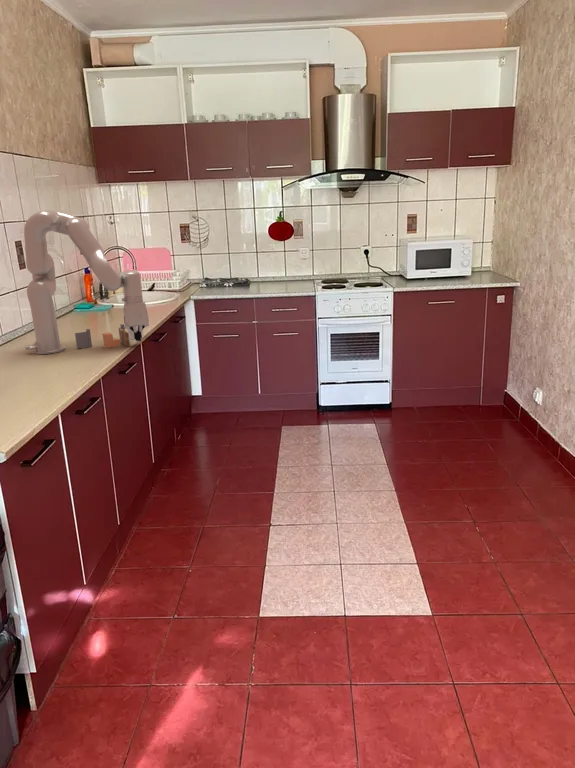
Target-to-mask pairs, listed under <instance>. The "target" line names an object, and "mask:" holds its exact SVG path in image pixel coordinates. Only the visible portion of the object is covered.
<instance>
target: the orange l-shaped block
mask: <svg viewBox="0 0 575 768" xmlns="http://www.w3.org/2000/svg"><path fill="white" fill-rule="evenodd" d="M113 335H114V334H113V333H111V332H104V333H102V339H103V340H102V341H103V346H105V347H104V348H106V347H107V348H106V349H109V348H108V347H112V348H115V347H114V346H118V347H121V342H120V338H114V337H113Z"/></svg>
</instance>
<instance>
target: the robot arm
mask: <svg viewBox="0 0 575 768" xmlns="http://www.w3.org/2000/svg"><path fill="white" fill-rule="evenodd" d="M23 229H24V230H23V235H24V236H23V238H24V251H25V265H26V269H27V270H28V272H29V273H30V274H32V280H31V281H30V282H29V283H28V285H27V288H26V295H27V299H28V302H29V306H30V307H29V308H30V312H31V319H32V322H33V330H34V337H35V341H34V343H32V344H26V345H24V348H25V350H33V353H34V354H35V355H50V354H57V353H61V352H63V351H65V350H66V349H65V346H64V345H61V340H60V333H59V327H58V321H57V314H56V309H55V304H54V300H53V296H54V294H55V293H56V290H57V284H56V283H57V281H56V280H57V279H56V271H55V270H56V267H55V262H54V259H53V257H52V256H51V254H50V253H48V241H47V237H46V236H47V233H49V232H54V233H55V232H56V233H59V234H62V235H67V236H68V237H69V239H70V240H71V241H72V242H73V244H74V245H75V247H76V248H77V249H78V251H79V252H80V253H81V255H82V256H83V258H84V259H85V261H86V263H87V264H88V266H89V267H90V269H91V270H92V272H93V274H94V275H95V277H96V278H97V279H98V281H99V282H100V283H101V285H102V286H103V287H104V288H105V289H106V290H108V291H111V292H116V291H118V290H120V288H123V287H124V294H125V296H124V295H123V297H122V298H121V302H123V321H124V323H123V324H124V327H125V330H127V329H131V330H132V331H133V332H134V338H135V339H134V340H135V341H136V342H141V341H142V339H143V338H142V334H141V332H142V330H143V331H144V329H146V328H147V327H149V326H150V324H149V323H150V322H149V321H150V319H149V314H148V307H147V303H146V302H145V301H144V299H143V291H142V289H143V288H142V282H141V281H142V279H141V273H140V272H139V271H137V270H136V271H135V270H129V271H115V270H114V269H113V267H112V266H111V264H110V263H109V261H108V259H107V258H106V256H105V252H104V249H103V247H102V245H101V244H100V242H99V241H98V240H97V238H96V237H95V236H94V234H93V233H92V231H91V230H90V228H89V224H88V222H87V221H86V220H85V219H83V218H81V217H78V216H74V215H69V214H66V213H63V212H58V211H55V210H48V209H47V210H45V209H44V210H40V211H38V212H35V213H33V214H32V215H30V216H29V218H28V219H27V220H26V222H25V224H24V228H23ZM124 302H125V303H124ZM136 326H138V331H137V330H136Z"/></svg>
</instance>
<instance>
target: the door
mask: <svg viewBox="0 0 575 768" xmlns="http://www.w3.org/2000/svg"><path fill="white" fill-rule="evenodd" d="M118 335H119V340H120V343H121V344H122V345H125V347H127V348H129V347H131V346H130V345H131V344H130V343H131V342H130V339H129V334H128V331H126V330H125V331H124V330H123V329H121V327H118Z"/></svg>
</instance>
